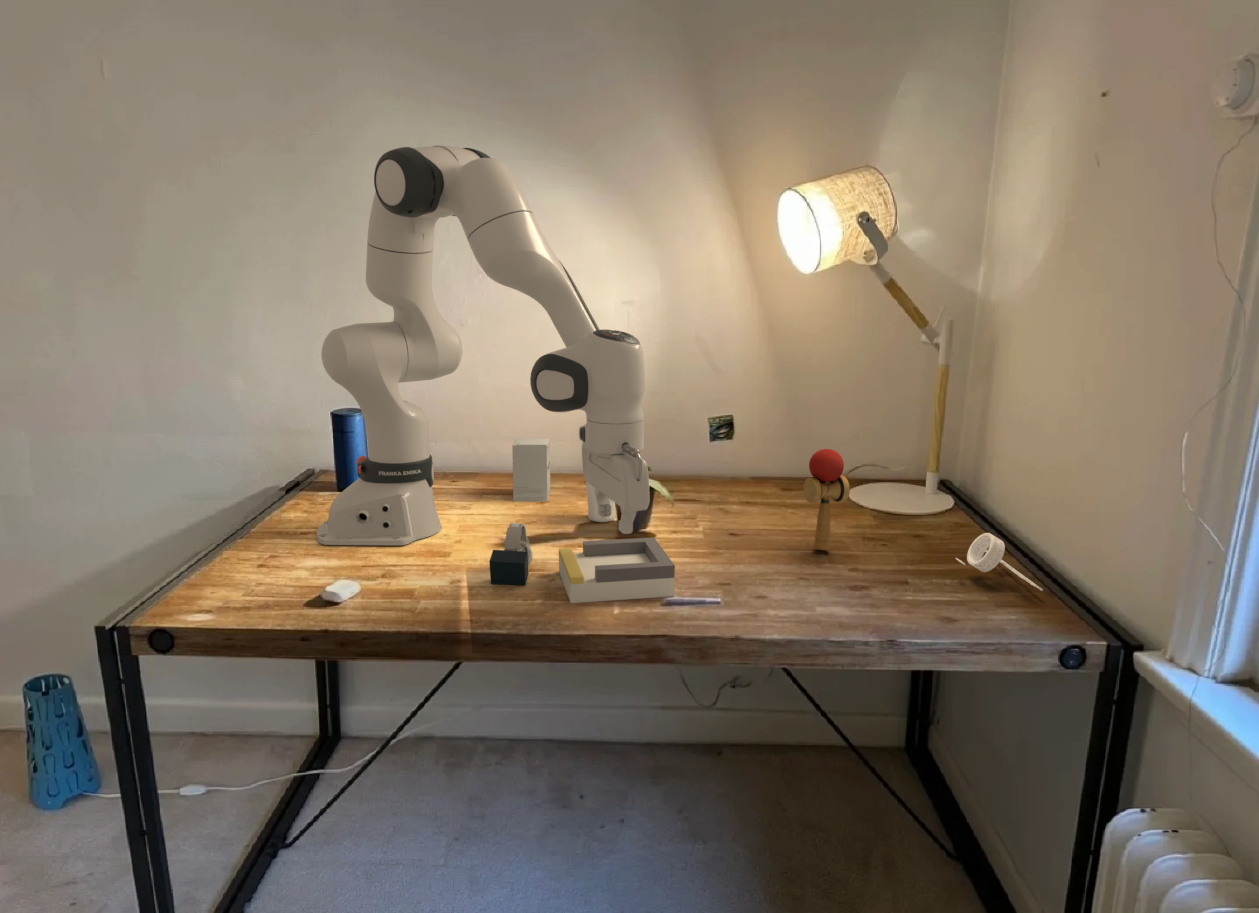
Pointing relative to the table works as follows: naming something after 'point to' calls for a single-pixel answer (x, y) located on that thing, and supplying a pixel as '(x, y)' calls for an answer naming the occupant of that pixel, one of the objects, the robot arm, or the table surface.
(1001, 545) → the wheel on axle
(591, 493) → the white vase
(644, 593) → the dock
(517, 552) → the watch
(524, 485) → the supplement box
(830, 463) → the kendama
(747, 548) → the table surface
